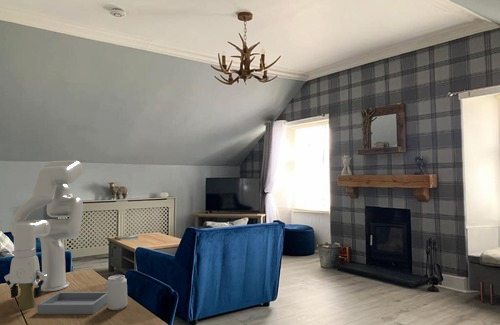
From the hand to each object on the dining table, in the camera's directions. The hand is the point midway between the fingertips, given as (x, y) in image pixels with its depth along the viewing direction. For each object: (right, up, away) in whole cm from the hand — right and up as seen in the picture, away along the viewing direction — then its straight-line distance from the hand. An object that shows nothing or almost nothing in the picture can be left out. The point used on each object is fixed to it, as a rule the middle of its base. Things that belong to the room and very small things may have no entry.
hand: (26, 296), depth 151 cm
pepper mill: (0, -4, +1) cm, 4 cm away
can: (+38, -3, -3) cm, 38 cm away
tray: (+20, -4, -1) cm, 21 cm away
